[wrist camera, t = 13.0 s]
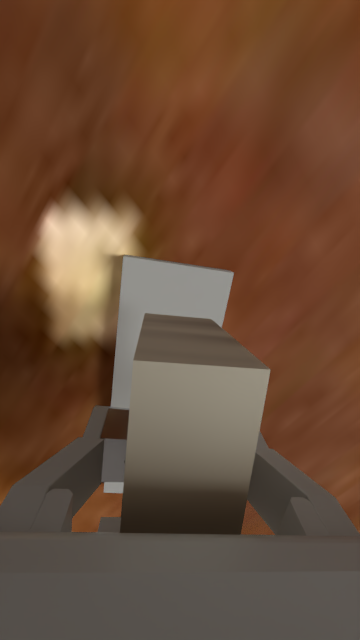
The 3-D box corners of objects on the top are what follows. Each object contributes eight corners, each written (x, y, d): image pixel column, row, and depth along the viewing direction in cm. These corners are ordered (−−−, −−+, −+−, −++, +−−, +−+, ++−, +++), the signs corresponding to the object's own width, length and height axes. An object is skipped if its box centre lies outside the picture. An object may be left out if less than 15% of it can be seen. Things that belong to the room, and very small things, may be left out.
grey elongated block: (121, 311, 11) (83, 357, 5) (232, 320, 12) (312, 372, 6) (102, 610, 14) (63, 855, 8) (190, 607, 15) (213, 832, 9)
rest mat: (125, 254, 16) (123, 256, 15) (229, 270, 17) (233, 272, 16) (106, 481, 23) (103, 492, 22) (182, 484, 23) (183, 495, 22)
